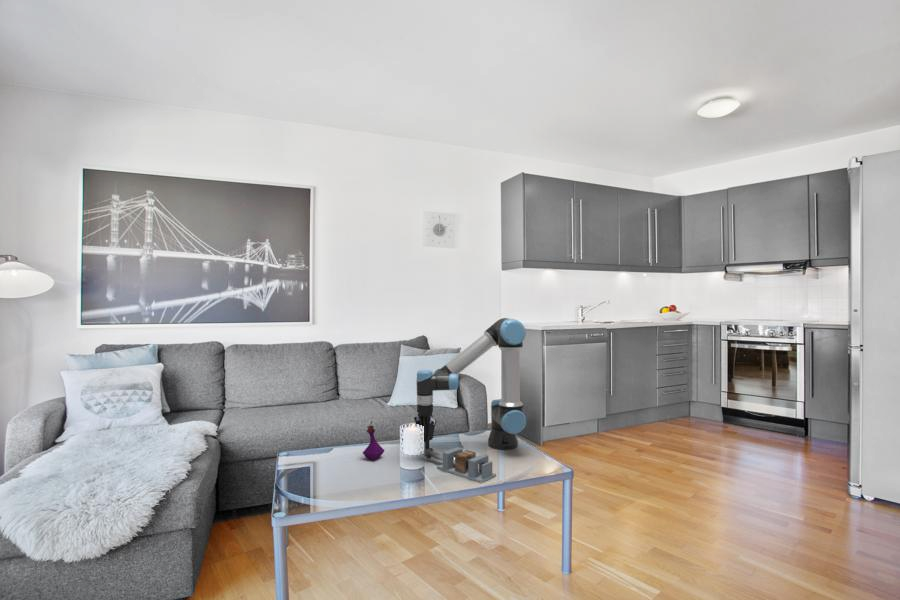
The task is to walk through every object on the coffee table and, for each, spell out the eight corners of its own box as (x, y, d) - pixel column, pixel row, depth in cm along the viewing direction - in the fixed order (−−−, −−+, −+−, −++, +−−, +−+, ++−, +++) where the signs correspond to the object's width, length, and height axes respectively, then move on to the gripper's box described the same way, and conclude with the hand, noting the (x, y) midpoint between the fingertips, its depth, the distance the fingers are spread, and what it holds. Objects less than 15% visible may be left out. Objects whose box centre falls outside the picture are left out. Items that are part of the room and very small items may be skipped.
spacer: (466, 466, 206) (466, 450, 206) (475, 468, 203) (475, 452, 203) (455, 470, 201) (455, 454, 201) (464, 473, 197) (463, 457, 197)
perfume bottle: (362, 459, 219) (361, 421, 219) (372, 454, 225) (371, 417, 225) (375, 462, 215) (374, 423, 215) (384, 457, 222) (384, 419, 222)
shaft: (431, 456, 219) (431, 446, 219) (468, 467, 204) (468, 457, 204) (424, 458, 215) (424, 448, 215) (461, 470, 200) (461, 460, 200)
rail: (452, 462, 214) (451, 445, 214) (496, 476, 197) (496, 457, 197) (436, 468, 206) (436, 450, 206) (481, 483, 190) (481, 464, 190)
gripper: (409, 403, 220) (410, 453, 220) (429, 407, 211) (429, 459, 211) (421, 400, 225) (421, 449, 226) (440, 404, 217) (441, 455, 217)
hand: (425, 454), depth 218 cm, fingers closed
